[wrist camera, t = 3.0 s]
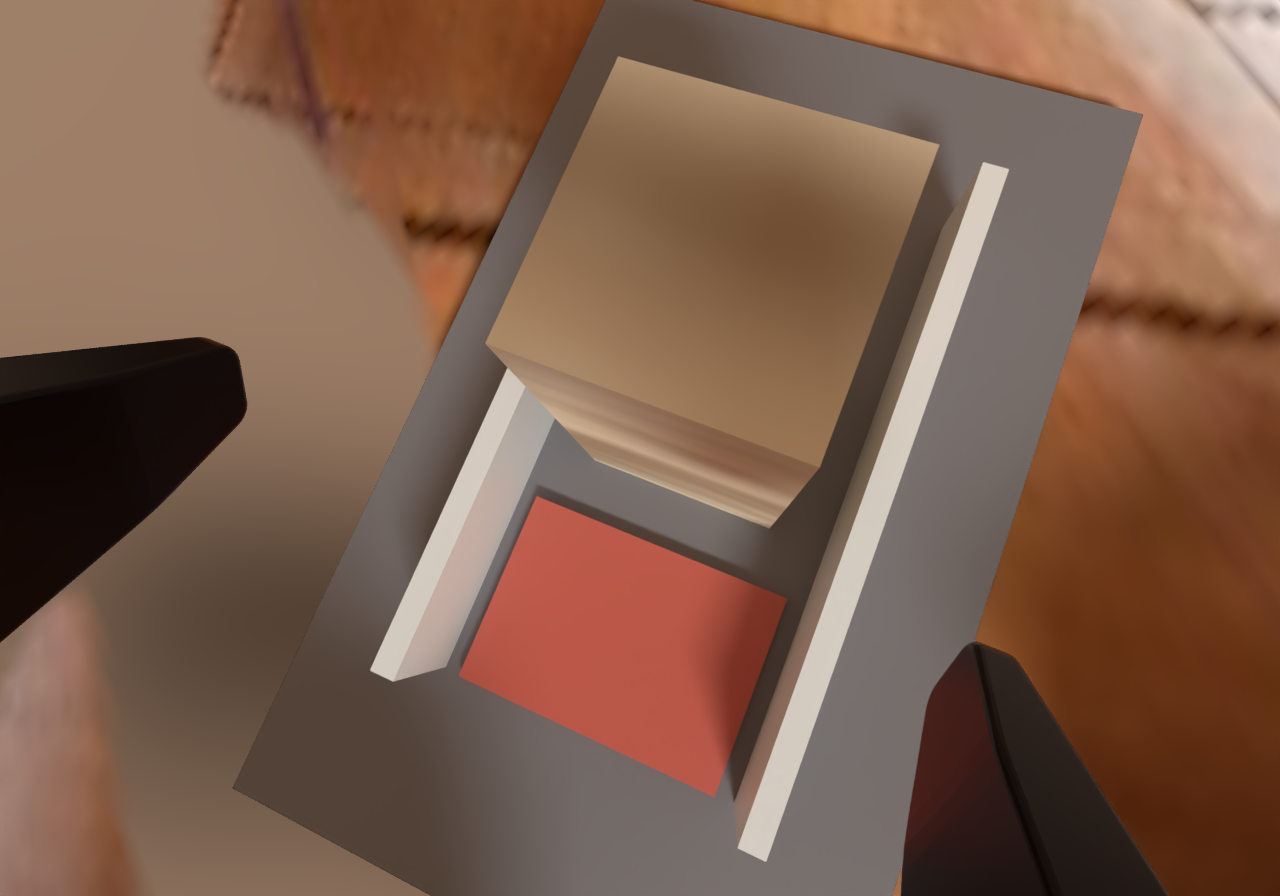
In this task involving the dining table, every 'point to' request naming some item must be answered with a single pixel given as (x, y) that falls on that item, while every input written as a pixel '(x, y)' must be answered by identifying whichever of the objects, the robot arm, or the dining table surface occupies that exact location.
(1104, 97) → the dining table surface
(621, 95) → the birch block
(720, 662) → the grey railed tray
